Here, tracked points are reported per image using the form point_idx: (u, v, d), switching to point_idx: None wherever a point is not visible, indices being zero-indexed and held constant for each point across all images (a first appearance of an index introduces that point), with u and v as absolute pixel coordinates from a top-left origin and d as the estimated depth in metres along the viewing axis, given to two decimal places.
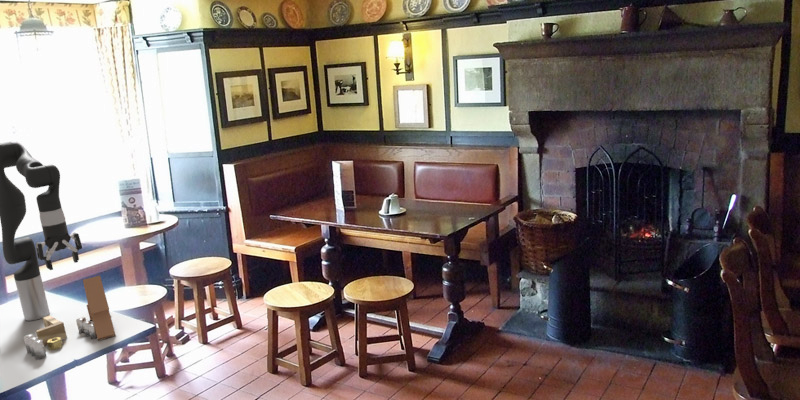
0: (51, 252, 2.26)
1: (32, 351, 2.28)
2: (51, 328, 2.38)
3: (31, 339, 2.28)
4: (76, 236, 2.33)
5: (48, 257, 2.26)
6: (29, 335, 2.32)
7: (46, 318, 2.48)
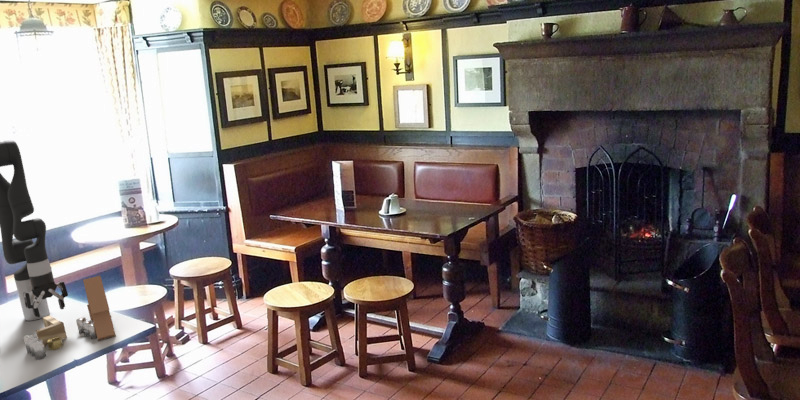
0: (38, 301, 2.40)
1: (32, 351, 2.28)
2: (51, 328, 2.38)
3: (31, 339, 2.28)
4: (62, 284, 2.46)
5: (35, 305, 2.40)
6: (29, 335, 2.32)
7: (46, 318, 2.48)
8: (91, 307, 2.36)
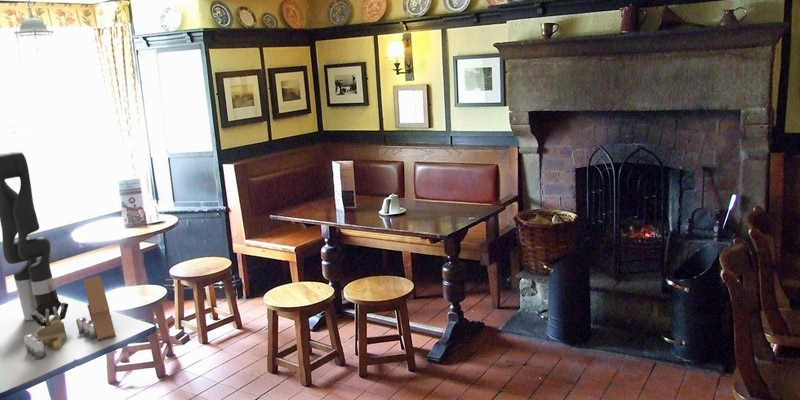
0: (47, 319, 2.43)
1: (32, 351, 2.28)
2: (51, 328, 2.38)
3: (31, 339, 2.28)
4: (65, 306, 2.48)
5: (48, 323, 2.44)
6: (29, 335, 2.32)
7: None
8: (91, 307, 2.36)
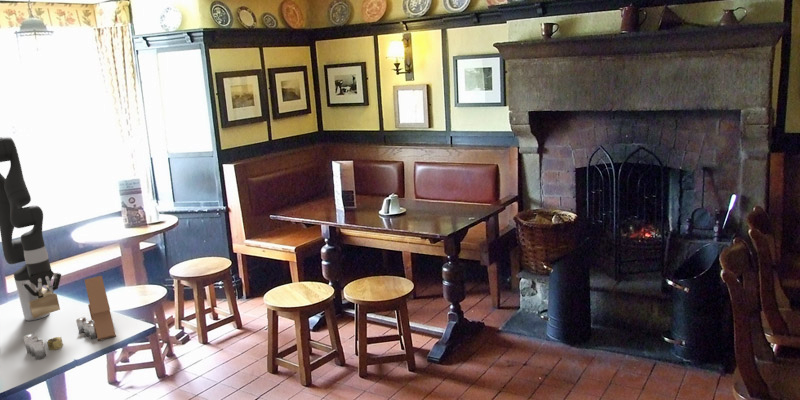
0: (40, 288, 2.40)
1: (32, 351, 2.28)
2: (44, 299, 2.36)
3: (31, 339, 2.28)
4: (58, 276, 2.45)
5: (40, 293, 2.41)
6: (29, 335, 2.32)
7: None
8: (92, 307, 2.36)
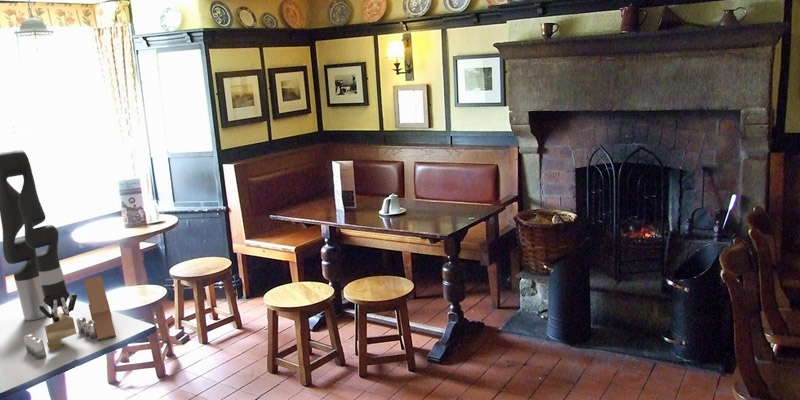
0: (55, 310, 2.34)
1: (32, 351, 2.28)
2: (60, 324, 2.30)
3: (31, 339, 2.28)
4: (74, 297, 2.39)
5: (56, 315, 2.35)
6: (29, 335, 2.32)
7: None
8: (91, 307, 2.36)
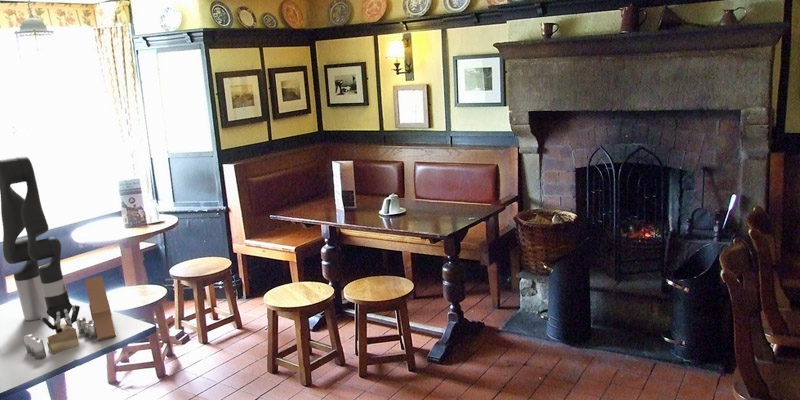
0: (58, 322, 2.35)
1: (32, 351, 2.28)
2: (63, 334, 2.31)
3: (31, 339, 2.28)
4: (77, 308, 2.40)
5: (59, 326, 2.36)
6: (29, 335, 2.32)
7: None
8: (92, 307, 2.36)
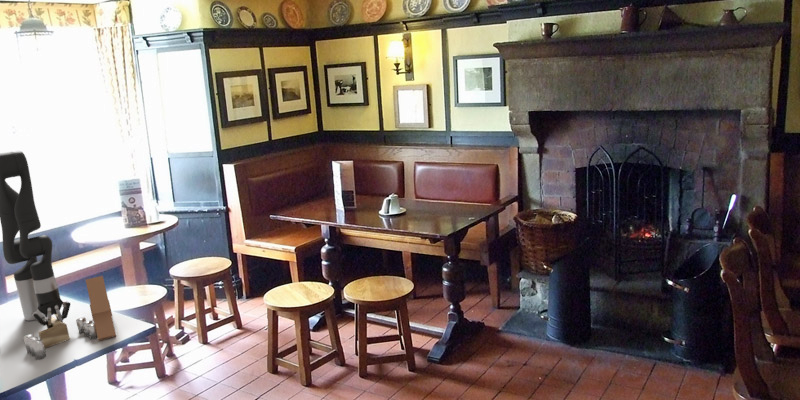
0: (49, 318, 2.41)
1: (32, 351, 2.28)
2: (54, 329, 2.37)
3: (31, 339, 2.28)
4: (67, 305, 2.46)
5: (50, 322, 2.42)
6: (29, 335, 2.32)
7: None
8: (92, 307, 2.36)
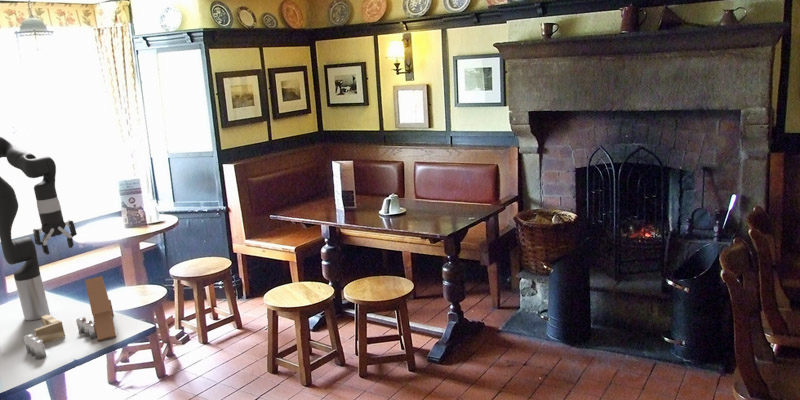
0: (47, 238, 2.44)
1: (32, 351, 2.28)
2: (49, 327, 2.40)
3: (31, 339, 2.28)
4: (71, 223, 2.50)
5: (45, 242, 2.44)
6: (29, 335, 2.32)
7: (44, 317, 2.49)
8: (92, 308, 2.35)
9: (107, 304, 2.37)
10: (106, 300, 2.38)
